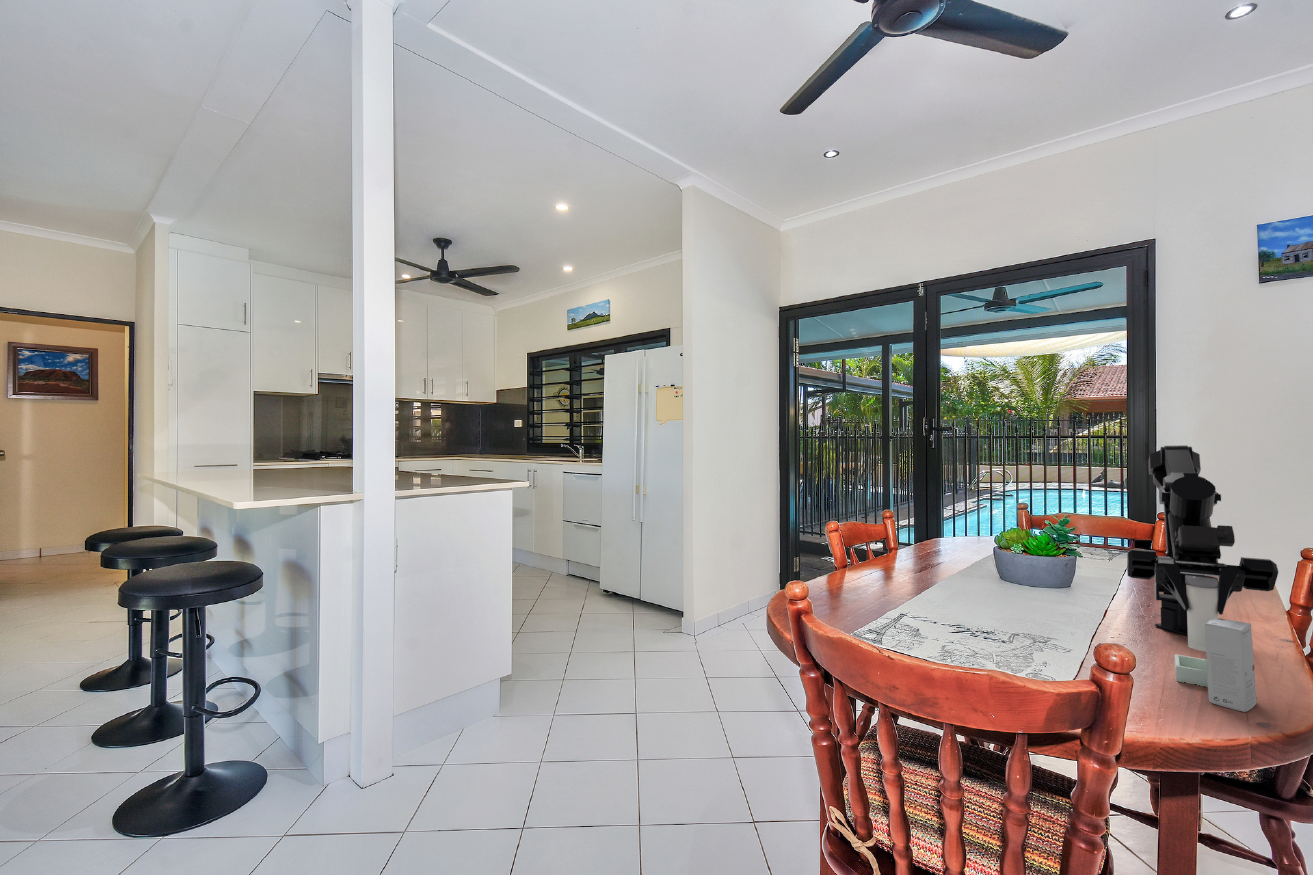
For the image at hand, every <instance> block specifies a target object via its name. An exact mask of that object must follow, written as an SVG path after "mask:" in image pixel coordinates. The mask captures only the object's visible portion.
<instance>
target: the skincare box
mask: <svg viewBox="0 0 1313 875" xmlns="http://www.w3.org/2000/svg"><path fill="white" fill-rule="evenodd" d="M1205 642H1206V652H1205V655H1206V660H1207V678H1208V687H1207V692H1208V693H1207V694H1208V701H1209V703H1211V704H1213V705H1217V706H1220V707H1222V708H1223V707H1224V708H1227V709H1231V710H1234V711H1239V712H1242V713H1243V712H1244V713H1246V712H1249V711H1250V710H1251V709H1253V708H1254V707H1255V705H1256V704H1257V691H1256V690H1257V688H1256V672H1255V660H1254V659H1255V658H1254V648H1253V647H1254V646H1253V634H1252V624H1251V623H1249V622H1244V621H1239V620H1232V619H1226V618H1225V619H1224V618H1220V617H1218V618H1215V619H1213V620H1209V622H1207V623H1205Z"/></svg>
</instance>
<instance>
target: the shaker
mask: <svg viewBox="0 0 1313 875" xmlns="http://www.w3.org/2000/svg"><path fill="white" fill-rule="evenodd" d="M1218 581H1219V577H1216V576H1207V575H1195V574H1188V575H1185V584H1186V593H1187V599H1188V607H1189V608H1188V611H1187V626H1188V635H1187V646H1188V647H1189V648H1191V649H1192V650H1195V651H1200V652H1205V653H1206V642H1205V623H1207V622H1209V620H1213V619H1215V618H1219V612H1218Z"/></svg>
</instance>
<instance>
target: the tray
mask: <svg viewBox="0 0 1313 875" xmlns="http://www.w3.org/2000/svg"><path fill="white" fill-rule="evenodd" d="M1174 671H1175V679H1176V682H1180V683H1184V682H1186V683H1185V684H1190V685H1194V684H1197V685H1196V686H1199V685H1200V687H1204V686H1205V688H1208V678H1207V659H1205V658H1199V657H1193V656H1188V655H1183V654H1176V653H1174Z"/></svg>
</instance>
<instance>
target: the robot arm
mask: <svg viewBox="0 0 1313 875" xmlns="http://www.w3.org/2000/svg"><path fill="white" fill-rule="evenodd" d="M1148 456H1149V457H1148V475H1152V480H1153V481H1152V483H1153V485H1154V486H1155V487H1156V488H1157V489H1158V501H1159V505H1163V513H1164V514H1163V516H1164V517H1163V518H1164V530H1165V545H1166V554H1165V555H1164V556H1162V555H1157V551H1156V550H1150V549H1149V550H1147V549H1137V548H1136V549H1134V548H1131V549H1129V550H1128V551H1127V552H1126V553H1127V554H1126V555H1127V556H1126V558H1127V559H1126V570H1127V576H1128V577H1130V578H1131V579H1140V580H1151V579H1153V578H1154V583H1153V585H1154V588H1153V589H1154V598H1155V600H1156V601H1161V602H1160V603H1161V605H1160V606H1161V607H1160V623H1159V622H1158V623H1154V627H1156V628H1159V629H1164V630H1167V631H1170V632H1173V633H1177V634H1181V635H1184V636H1188V626H1187V611H1188V608H1189V607H1188V599H1187V593H1186V584H1185V575H1188V574H1195V575H1205V576H1211V577H1217V578H1218V615H1223V614H1224V611H1225V609H1226V606H1227V602H1228V600H1229V598H1230V597H1231V596H1232V594H1233V593H1235V592H1236V593H1239V592H1242V590H1243V588H1244V589H1245V590H1248V591H1249V590H1250V591H1251V590H1252V591H1261V592H1270V591H1273V590H1275V586H1276V582H1277V579H1278V575H1279V569H1278V565H1277V563H1275V562H1274V561H1273V560H1271V559H1270V558H1269V559H1268V558H1254V557H1240V560H1239V564H1238V565H1233V564H1226V563H1223V562H1222V563H1220V562H1219V560H1221V558H1222V553H1221V547H1229V548H1230V547H1231V548H1232V547H1233V546H1234V545H1235V543H1236V542H1235V541H1236V539H1235V533H1234V532H1235V531H1234V528H1233V526H1232V525H1221V524H1220V525H1217V527H1215V526H1212V523H1211V518H1210V517H1212V516H1213V512H1214V507H1215V506H1216V505H1217V504H1218V502H1222V494H1221V493H1218V492H1217V490H1216V486H1215V485H1214V484H1213V482H1211V481H1209V479H1207V478H1205V477H1203V476H1200V473H1201V470H1202V469H1201V468H1202V467H1201V458H1200V457H1201V456H1200V453H1198V452H1196V451H1193V447H1192V446H1188V445H1185V444H1184V445H1164V446H1160V449H1159V450H1157V451H1154V452H1152V453H1150V454H1149V455H1148Z"/></svg>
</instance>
